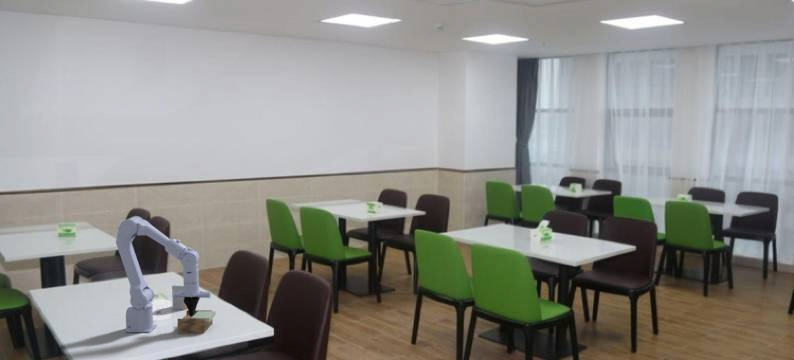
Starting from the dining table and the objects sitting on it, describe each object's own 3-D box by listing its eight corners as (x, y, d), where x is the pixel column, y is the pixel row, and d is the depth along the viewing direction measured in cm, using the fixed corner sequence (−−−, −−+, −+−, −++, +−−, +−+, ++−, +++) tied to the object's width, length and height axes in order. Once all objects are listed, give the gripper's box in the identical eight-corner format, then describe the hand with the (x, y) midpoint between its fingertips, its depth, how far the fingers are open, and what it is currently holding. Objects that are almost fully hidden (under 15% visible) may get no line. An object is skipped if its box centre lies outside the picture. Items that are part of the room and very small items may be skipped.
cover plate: (191, 321, 254) (190, 318, 254) (197, 314, 263) (197, 311, 263) (209, 321, 254) (209, 318, 254) (215, 314, 263) (215, 311, 263)
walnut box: (177, 333, 253) (177, 319, 253) (187, 323, 265) (187, 310, 265) (204, 333, 253) (203, 319, 253) (212, 323, 265) (212, 310, 265)
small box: (184, 310, 283) (183, 286, 282) (172, 309, 285) (171, 285, 284) (193, 305, 291) (193, 281, 290) (182, 304, 292) (181, 281, 291)
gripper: (212, 279, 261) (213, 312, 263) (175, 279, 261) (177, 312, 263) (207, 283, 254) (208, 318, 256) (169, 283, 254) (171, 318, 256)
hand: (192, 315), depth 259 cm, fingers closed
